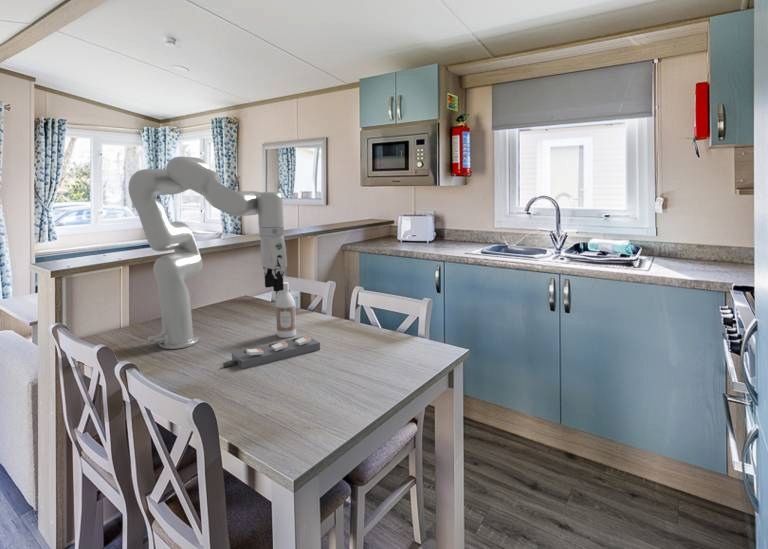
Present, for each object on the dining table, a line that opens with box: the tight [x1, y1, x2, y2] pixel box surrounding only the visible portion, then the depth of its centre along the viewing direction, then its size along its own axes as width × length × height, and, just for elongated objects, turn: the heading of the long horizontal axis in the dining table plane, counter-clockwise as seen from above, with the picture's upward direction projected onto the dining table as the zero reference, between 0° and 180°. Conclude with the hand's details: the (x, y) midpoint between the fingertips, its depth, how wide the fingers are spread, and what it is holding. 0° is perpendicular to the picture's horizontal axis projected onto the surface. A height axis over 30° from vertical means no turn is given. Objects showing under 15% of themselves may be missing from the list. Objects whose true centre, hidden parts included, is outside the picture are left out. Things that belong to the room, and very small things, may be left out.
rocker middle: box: [271, 340, 288, 351], centre depth 147 cm, size 4×3×1 cm
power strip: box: [222, 335, 321, 370], centre depth 148 cm, size 31×9×3 cm, turn 127°
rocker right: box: [295, 335, 312, 345], centre depth 152 cm, size 4×3×1 cm
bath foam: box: [275, 281, 297, 339], centre depth 167 cm, size 7×7×20 cm
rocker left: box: [245, 348, 264, 355], centre depth 142 cm, size 4×3×1 cm
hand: (274, 288), depth 145 cm, fingers open, 5 cm apart
